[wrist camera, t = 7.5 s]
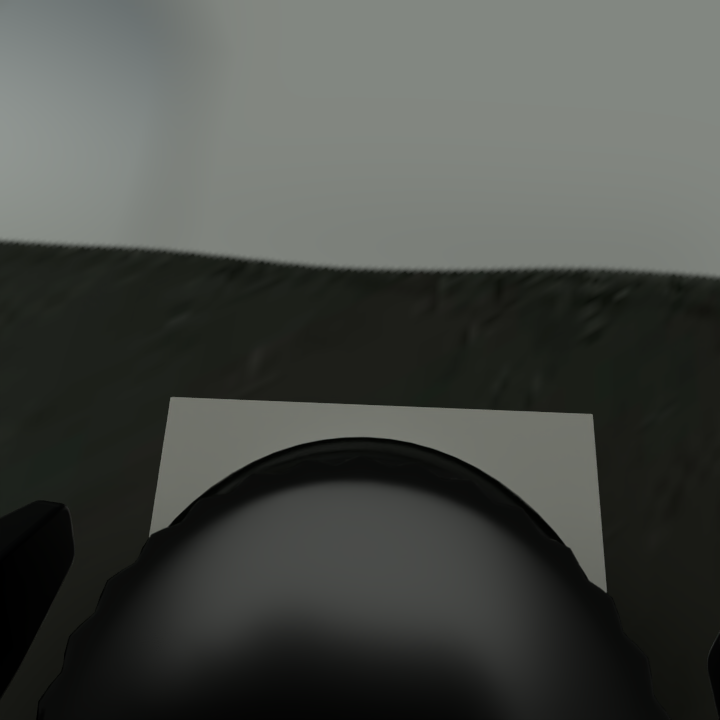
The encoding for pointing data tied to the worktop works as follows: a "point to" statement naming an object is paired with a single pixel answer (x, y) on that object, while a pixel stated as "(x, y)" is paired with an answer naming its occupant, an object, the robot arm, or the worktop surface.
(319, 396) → the worktop surface
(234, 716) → the supplement bottle
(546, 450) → the plate
